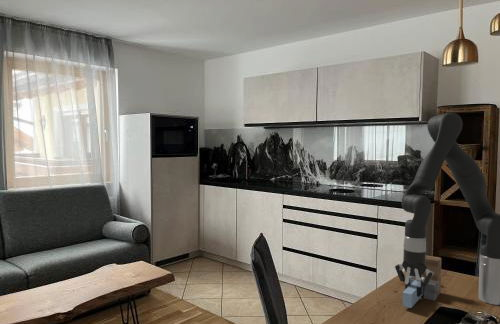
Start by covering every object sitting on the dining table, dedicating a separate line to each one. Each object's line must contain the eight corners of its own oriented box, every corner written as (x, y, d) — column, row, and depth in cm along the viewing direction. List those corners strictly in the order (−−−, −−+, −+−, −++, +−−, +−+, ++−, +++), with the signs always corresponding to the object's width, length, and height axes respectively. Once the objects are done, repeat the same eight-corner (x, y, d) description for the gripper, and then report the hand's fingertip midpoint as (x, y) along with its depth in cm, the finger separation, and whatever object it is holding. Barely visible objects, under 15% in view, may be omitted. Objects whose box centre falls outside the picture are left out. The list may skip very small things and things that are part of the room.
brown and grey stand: (413, 286, 159) (414, 253, 158) (441, 292, 152) (442, 258, 152) (405, 293, 151) (406, 258, 151) (434, 300, 145) (435, 264, 144)
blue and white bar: (418, 288, 152) (418, 276, 151) (426, 290, 150) (426, 278, 149) (402, 305, 137) (402, 292, 137) (411, 308, 135) (411, 294, 135)
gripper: (438, 250, 139) (436, 296, 140) (398, 243, 148) (397, 287, 149) (432, 254, 134) (431, 303, 134) (391, 247, 143) (390, 293, 143)
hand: (413, 294), depth 142 cm, fingers closed on blue and white bar, 3 cm apart
